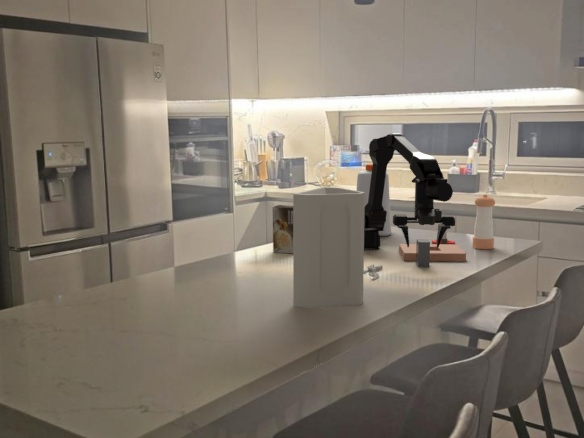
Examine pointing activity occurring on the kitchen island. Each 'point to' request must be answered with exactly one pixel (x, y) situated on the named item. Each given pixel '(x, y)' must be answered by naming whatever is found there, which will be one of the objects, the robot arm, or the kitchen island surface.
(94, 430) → the kitchen island surface
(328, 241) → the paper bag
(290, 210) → the coffee box
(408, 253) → the tan flat board
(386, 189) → the plastic bottle
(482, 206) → the pepper shaker
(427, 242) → the dark gray brick
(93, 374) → the kitchen island surface
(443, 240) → the tow hook
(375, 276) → the pliers
